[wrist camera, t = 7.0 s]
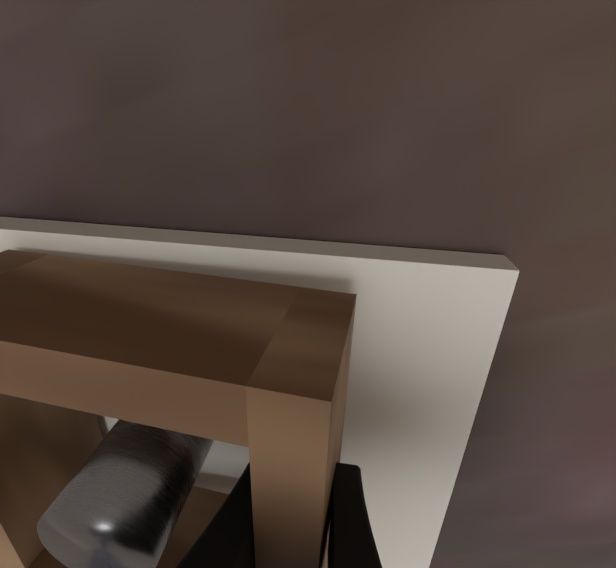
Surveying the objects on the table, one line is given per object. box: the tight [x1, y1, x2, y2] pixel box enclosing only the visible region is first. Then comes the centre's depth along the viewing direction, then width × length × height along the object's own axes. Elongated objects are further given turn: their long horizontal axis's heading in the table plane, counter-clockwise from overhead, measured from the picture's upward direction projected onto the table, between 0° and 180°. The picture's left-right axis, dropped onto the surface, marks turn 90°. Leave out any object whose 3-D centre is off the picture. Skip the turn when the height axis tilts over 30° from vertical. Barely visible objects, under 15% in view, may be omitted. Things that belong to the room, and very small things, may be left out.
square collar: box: [0, 249, 357, 568], centre depth 11 cm, size 11×11×4 cm
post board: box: [0, 217, 519, 568], centre depth 14 cm, size 24×20×6 cm
